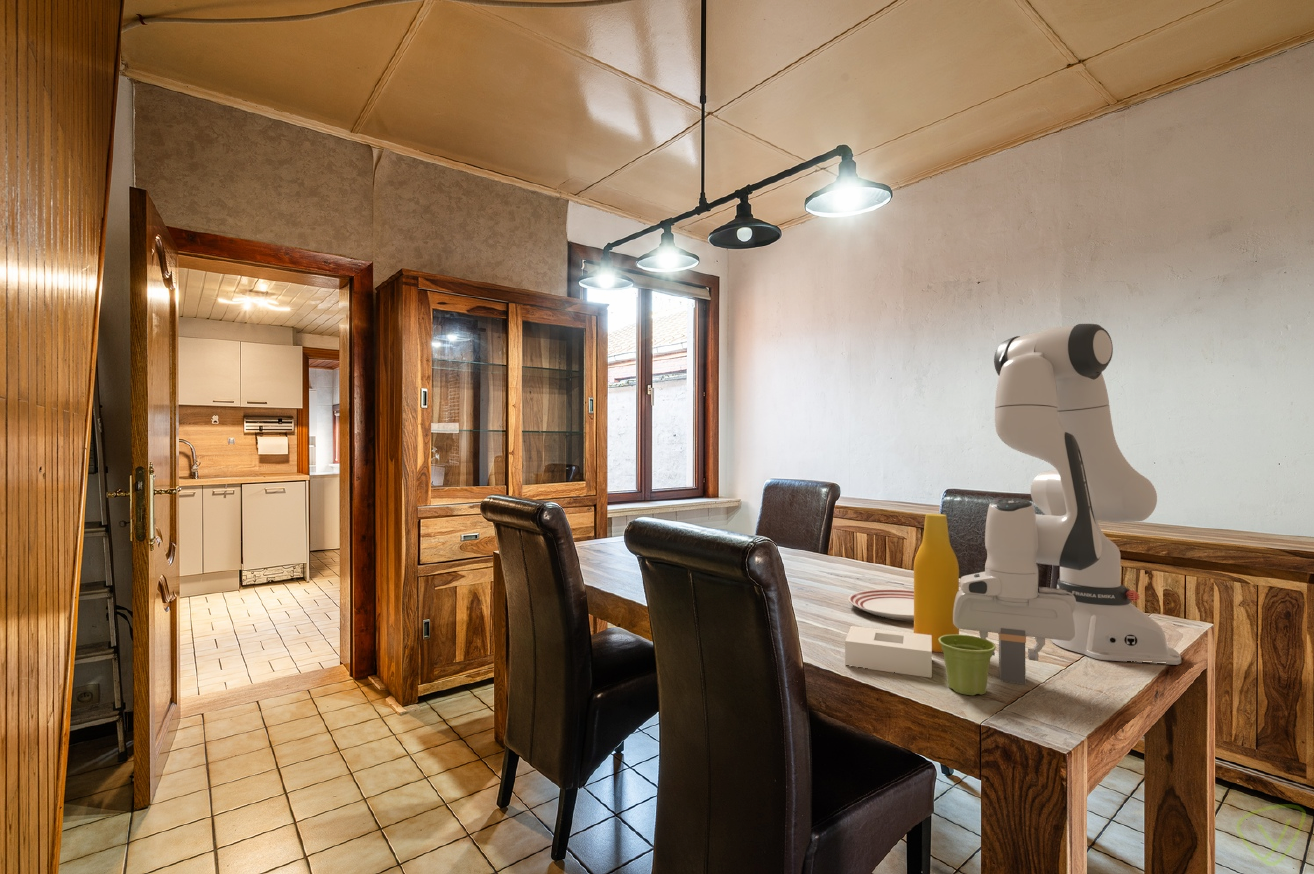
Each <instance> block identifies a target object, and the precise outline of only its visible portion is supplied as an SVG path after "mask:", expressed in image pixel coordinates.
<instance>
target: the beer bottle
mask: <svg viewBox="0 0 1314 874" xmlns="http://www.w3.org/2000/svg"><path fill="white" fill-rule="evenodd" d="M948 526H949V525H948V519H947V514H942V513H926V514H925V517H924V528H923V534H922V535H923V536H922V541H921V544H920V546H919V548H918V550H917V553H916V554H915V557H914V562H913V590H914V621H913V633H917V634H926V635H931V638H932V652H935V653H943V651H942V647H941V644H940V643H939V640H938V639H939V638H940V637H941V636H944V635H960V629H958V628H957V627H956V626H955V625H954V624H953V609H954V602H955V597H956V594H957V592H958V591H959V590H960V568H959V567H960V566H959V562H958V561H959V560H958V557H957V555H956V553H955V551H954V550H953V547H952V546H951V541H950V535H949V527H948Z"/></svg>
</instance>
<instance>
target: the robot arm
mask: <svg viewBox="0 0 1314 874" xmlns="http://www.w3.org/2000/svg"><path fill="white" fill-rule="evenodd" d="M1113 349H1114V347H1113V341H1112V338H1111V335H1110V334H1109V333H1108V330H1106V329H1105V328H1104V327H1103V326H1101V325H1100V324H1097V323H1096V324H1095V323H1078V324H1075V325H1067V326H1065V325H1064V326H1059V327H1052V328H1051V327H1050V328H1046V329H1043V330H1040V331H1036V332H1031V333H1028V334H1024V335H1021V336H1020V335H1019V336H1018V335H1017V336H1014V337H1011V338H1007V339H1006V340H1004V341H1002V342H1001V343H1000V344H999V345H998V347H997V349H996V350H995V352H994V357H993V364H994V370H995V372H996V374H997V375H998V376H999V377H998V379H997V380H998V382H997V386H996V392H995V403H994V404H995V405H994V423H995V424H994V426H995V432H996V434H997V436H998V438H999V439H1000V440H1001V441H1002V443H1004V444H1005V445H1007V446H1008V447H1009V448H1011V449H1013V450H1015V451H1017V452H1020V453H1023V454H1025V455H1028V456H1031V457H1034V458H1037V459H1038V460H1042V461H1045V462H1047V463H1048V464H1050V465H1051V466H1053V467H1054V468H1055V469H1049V470H1046V471H1045V470H1044V471H1042V472H1039V473H1038V474H1037V475H1036V476H1035V477H1034V478H1033V480H1032V482H1031V484H1030V497H1031V500H1032V501H1030V500H1027V499H1023V498H1016V497H1015V498H1014V497H1012V498H1011V497H1005V498H999V499H995V500H993V501H991V502H989V505H988V508H987V513H986V521H985V528H984V529H985V532H984V545H985V549H986V553H987V555H986V556H987V557H986V561H985V565H984V571H980V572H976V573H971V574H967V575H963V576H961V577H960V578H959V591H958V592H957V594H956V597H955V602H954V609H953V624H954V625H955V626H956V627H957V628H958V629H959V630H966V631H976V632H978V635H979V638H982V639H986V640H988V639H987V638H988V637H989V633H992V634H993V633H994V634H998V633H1001V628H1006V629H1015V630H1025V636H1026V637H1030V638H1034V640H1035V645H1034V646H1033V648H1027V657H1028V660H1029V661H1035V662H1039V653H1040V652H1041V650H1042V649H1043V648H1044V646H1045V645H1046V639H1047V640H1048V639H1049V640H1051V642H1052V643H1053V644H1054V645H1056V646H1057V647H1061V648H1063V649H1065V650H1068V651H1071V652H1075V653H1079V654H1081V655H1085V656H1088V657H1090V658H1092V659H1096V660H1101V661H1112V662H1113V661H1116V662H1127V661H1131V663H1142V662H1143V661H1152V662H1166V663H1168V664H1167V665H1174V666H1175V665H1176V666H1178V665H1180V664H1182V656H1181V654H1180V653H1179V652H1178V651H1177V649H1174V648H1173V647H1171V646H1169V645H1168V643H1167V642H1168V641H1167V638H1166V634H1165V631H1164V630H1163V628H1162V627H1161V625H1160V624H1159V623H1158V622H1157V621H1155V619H1153V618H1152V617H1150V616H1149V615H1148V614H1146V613H1144V611H1142V610H1141V609H1139V608H1138V607H1136V605H1134V604H1132V602H1138V601H1139V600H1140V598H1141V595H1140V594H1139V593H1138V592H1137V591H1136V590H1133V589H1130V588H1128V587H1126V586H1124V585H1123V584H1121V579H1122V578H1121V576H1122V575H1121V569H1122V568H1121V552H1120V551H1121V550H1120V549H1119V547H1118V545H1117V544H1116V543H1114V542H1113V541H1112V540H1110V538H1108V537H1107V536H1106V535H1105V534H1104V533H1103V531H1102V529H1101V527H1100V525H1099V522H1098V521H1100V522H1107V523H1114V524H1115V523H1116V524H1119V523H1120V524H1122V523H1136V522H1137V523H1138V522H1143V521H1145V520H1147V519H1148V518H1149V517H1150V516H1151V515H1152V514H1153V513H1154V511H1155V509H1156V507H1157V503H1158V495H1157V494H1158V493H1157V491H1156V488H1155V486H1154V485H1153V483H1152V482H1151V480H1149V479H1148V478H1147V477H1145V476H1144V475H1142V474H1141V473H1139V472H1138V471H1137V470H1136V469H1135V468H1134V467H1133V466H1132V465H1131V464H1130V463H1129V462H1128V460H1127V458H1126V457H1125V456H1124V454H1123V453H1122V452H1121V449H1120V448H1119V445H1118V443H1117V440H1116V437H1115V431H1114V427H1113V420H1112V413H1111V407H1110V406H1111V405H1110V400H1109V394H1108V389H1107V386H1106V383H1105V379H1104V376H1103V372H1104V371H1105V370H1106V369H1107V367H1108V366H1109V364H1110V363H1111V361H1112V358H1113V354H1114V351H1113ZM1032 502H1033V503H1032ZM1034 505H1035V506H1036V507H1037V508H1038V509H1039V510H1040V511H1041V512H1042V513H1043V514H1037V513H1036V511H1035V506H1034ZM1036 563H1038V564H1042V565H1049V566H1059V578H1058V579H1057V583H1056V588H1053V587H1045V586H1039V568H1038V564H1036ZM995 651H996V649H995V650H993V654H992V656H996V655H995V654H996V652H995ZM1132 661H1134V662H1132ZM1135 661H1137V662H1135Z"/></svg>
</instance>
